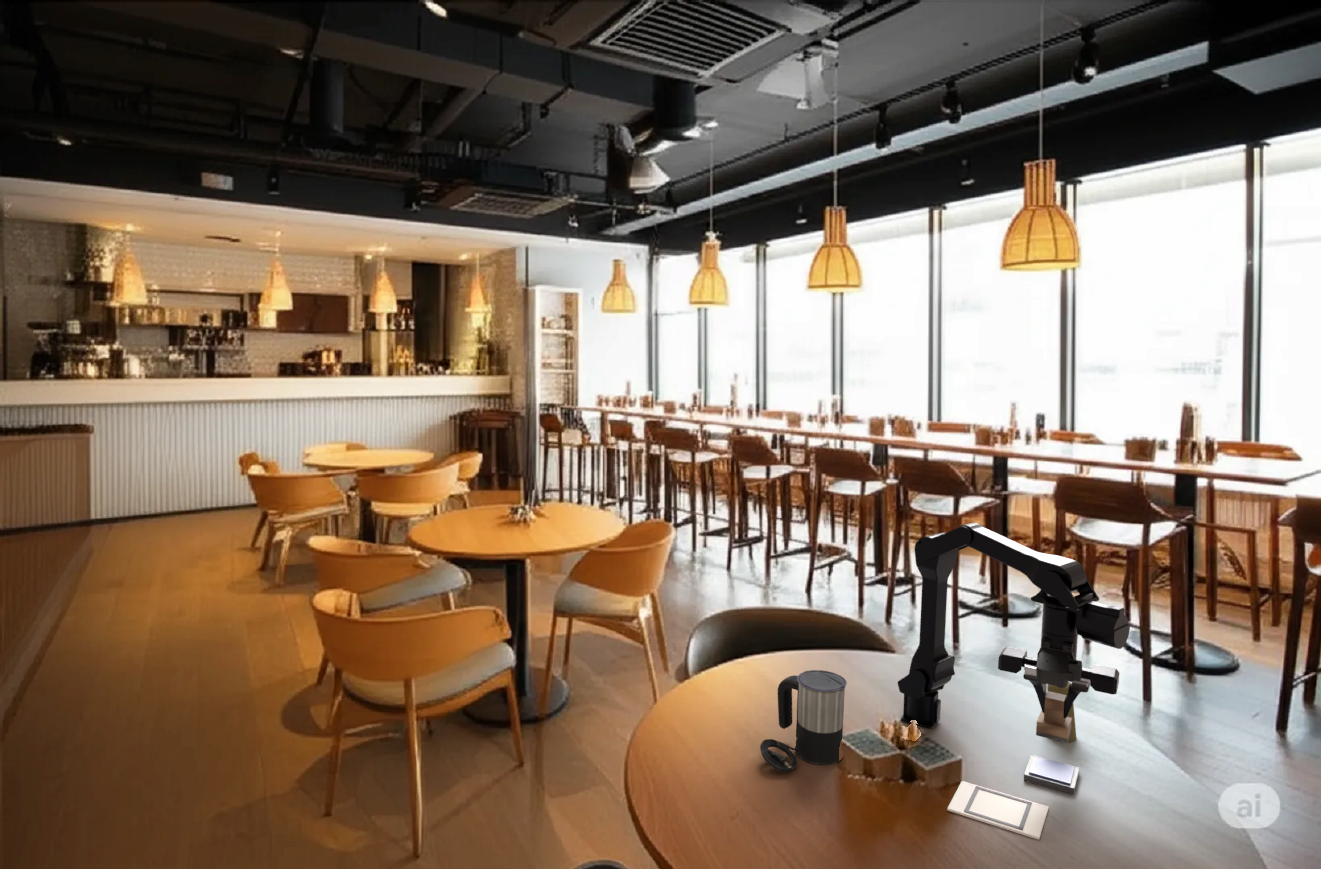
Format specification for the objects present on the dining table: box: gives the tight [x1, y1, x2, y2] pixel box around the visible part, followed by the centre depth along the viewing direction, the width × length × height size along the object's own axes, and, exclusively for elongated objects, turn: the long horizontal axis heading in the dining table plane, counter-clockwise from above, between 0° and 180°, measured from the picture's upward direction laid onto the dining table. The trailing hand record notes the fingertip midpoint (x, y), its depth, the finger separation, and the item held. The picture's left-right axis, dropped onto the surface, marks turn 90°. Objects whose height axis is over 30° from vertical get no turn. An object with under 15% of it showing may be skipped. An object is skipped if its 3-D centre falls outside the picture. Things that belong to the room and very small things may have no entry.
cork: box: [1046, 681, 1077, 743], centre depth 155 cm, size 6×6×11 cm
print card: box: [947, 780, 1050, 841], centre depth 131 cm, size 14×10×1 cm
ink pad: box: [1023, 754, 1080, 796], centre depth 140 cm, size 8×8×2 cm
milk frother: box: [759, 669, 848, 773], centre depth 146 cm, size 14×16×15 cm
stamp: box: [1035, 690, 1072, 744], centre depth 139 cm, size 5×5×7 cm
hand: (1054, 714), depth 139 cm, fingers closed on stamp, 3 cm apart
